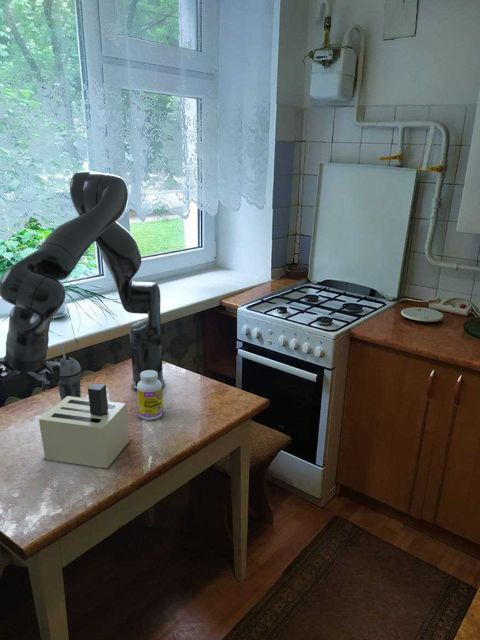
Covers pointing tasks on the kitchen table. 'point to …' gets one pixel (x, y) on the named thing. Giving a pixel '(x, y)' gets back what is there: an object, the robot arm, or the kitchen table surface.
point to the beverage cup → (69, 377)
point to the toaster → (84, 433)
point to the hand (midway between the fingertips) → (22, 386)
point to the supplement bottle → (149, 395)
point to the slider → (98, 399)
